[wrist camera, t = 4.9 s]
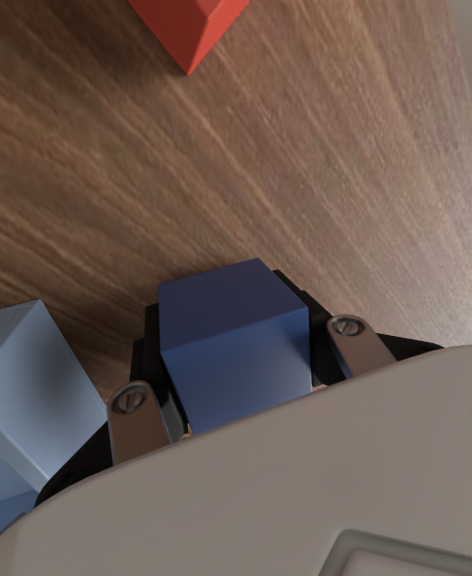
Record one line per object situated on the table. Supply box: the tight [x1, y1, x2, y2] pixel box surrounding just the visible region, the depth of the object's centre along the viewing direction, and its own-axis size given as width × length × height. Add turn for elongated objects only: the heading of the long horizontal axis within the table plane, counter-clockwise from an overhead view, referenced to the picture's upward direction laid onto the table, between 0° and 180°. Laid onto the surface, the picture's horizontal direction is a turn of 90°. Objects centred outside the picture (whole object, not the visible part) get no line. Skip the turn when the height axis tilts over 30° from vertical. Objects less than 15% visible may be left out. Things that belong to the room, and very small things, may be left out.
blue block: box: [158, 258, 312, 435], centre depth 11 cm, size 4×4×4 cm
